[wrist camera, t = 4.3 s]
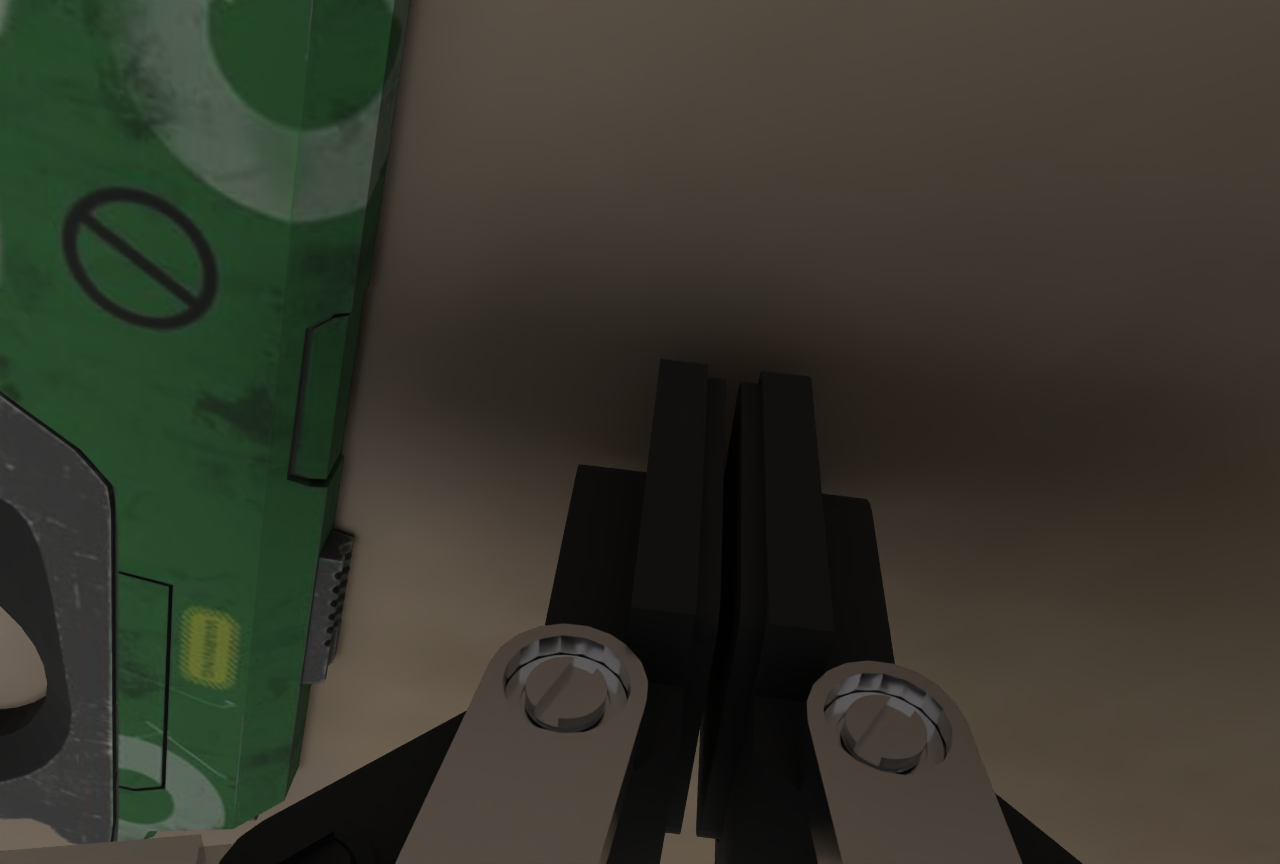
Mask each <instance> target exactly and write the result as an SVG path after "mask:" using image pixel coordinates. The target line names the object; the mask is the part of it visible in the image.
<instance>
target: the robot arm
mask: <svg viewBox="0 0 1280 864" xmlns="http://www.w3.org/2000/svg"><path fill="white" fill-rule="evenodd" d="M725 403H726V380H725V379H716V378H708V365H707V364H699V363H691V362H682V361H674V360H666V359H661V360H660V368H659V376H658V385H657V393H656V401H655V409H654V418H653V426H652V434H651V442H650V451H649V459H648V467H647V473H646V472H638V471H630V470H622V469H613V468H605V467H597V466H588V465H580V464H579V466H578V469H577V473H576V477H575V482H574V487H573V492H572V497H571V501H570V506H569V511H568V516H567V521H566V526H565V530H564V535H563V540H562V545H561V550H560V555H559V560H558V564H557V569H556V574H555V579H554V584H553V589H552V594H551V598H550V603H549V608H548V613H547V618H546V623H545V626H539V627H537V628H534V629H531V630H528V631H526V632H523V633H520V634H518V635H517V636H515V637H514V638H512V639H511V640H510V641H508V642H507V643H505V644H504V645H503V646H501V647H500V649H499V650H498V652H497V653H496V654H495V656H494V657H493V658H492V660H491V661H490V663H489V664H488V667H487V669H486V671H485V673H484V675H483V677H482V679H481V682H480V684H479V686H478V688H477V690H476V692H475V694H474V696H473V699H472V701H471V703H470V705H469V707H468V709H467V711H465V712H463V713H461V714H459V715H458V716H456V717H454V718H452V719H450V720H448V721H446V722H445V723H443V724H441V725H439V726H437V727H435V728H434V729H432V730H430V731H428V732H426V733H424V734H422V735H421V736H419V737H417V738H415V739H413V740H411V741H410V742H408V743H406V744H404V745H402V746H400V747H398V748H397V749H395V750H393V751H391V752H389V753H387V754H386V755H384V756H382V757H380V758H378V759H376V760H374V761H373V762H371V763H369V764H367V765H365V766H363V767H362V768H360V769H358V770H356V771H354V772H352V773H350V774H349V775H347V776H345V777H343V778H341V779H339V780H338V781H336V782H334V783H332V784H330V785H328V786H326V787H325V788H323V789H321V790H319V791H317V792H315V793H314V794H312V795H310V796H308V797H306V798H304V799H302V800H301V801H299V802H297V803H295V804H293V805H291V806H290V807H288V808H286V809H284V810H282V811H280V812H278V813H277V814H275V815H273V816H271V817H269V818H267V819H266V820H264V821H262V822H261V823H259V824H258V825H257V826H255V827H254V828H252V829H251V830H249V831H248V832H247V833H245V834H244V835H242V836H241V837H240V838H239V839H238V840H237V841H236V842H235V843H234V844H229V845H217V846H205V847H204V846H203V841H202V837H201V834H200V835H188V836H176V837H164V838H152V839H140V840H128V841H115V842H103V843H91V844H79V845H67V846H55V847H43V848H31V849H19V850H7V851H0V864H660V859H661V853H662V847H663V841H664V836H665V833H673V834H680V832H681V827H682V822H683V817H684V811H685V806H686V800H687V795H688V790H689V784H690V779H691V773H692V768H693V763H694V757H695V752H696V746H697V741H698V735H699V730H700V747H699V772H698V796H697V820H696V835H697V837H705V838H713V839H715V864H1082V863H1081V862H1080V861H1079V860H1077V859H1076V858H1075V857H1074V856H1072V855H1071V854H1070V853H1069V852H1067V851H1066V850H1065V849H1064V848H1063V847H1061V846H1060V845H1059V844H1058V843H1056V842H1055V841H1054V840H1053V839H1051V838H1050V837H1049V836H1048V835H1046V834H1045V833H1044V832H1043V831H1041V830H1040V829H1039V828H1038V827H1036V826H1035V825H1034V824H1033V823H1032V822H1030V821H1029V820H1028V819H1027V818H1025V817H1024V816H1023V815H1022V814H1020V813H1019V812H1018V811H1017V810H1015V809H1014V808H1013V807H1012V806H1010V805H1009V804H1008V803H1007V802H1006V801H1004V800H1003V799H1002V798H1001V797H999V796H998V795H997V794H996V793H994V790H993V788H992V785H991V782H990V780H989V777H988V775H987V772H986V770H985V767H984V765H983V762H982V760H981V757H980V754H979V752H978V749H977V747H976V744H975V742H974V739H973V737H972V734H971V732H970V729H969V726H968V724H967V722H966V720H965V718H964V716H963V715H962V713H961V711H960V710H959V708H958V706H957V704H956V703H955V702H954V701H953V700H952V699H951V698H950V697H949V696H948V695H947V694H946V693H945V692H944V691H943V690H942V689H941V688H940V687H939V686H938V685H937V684H935V683H933V682H932V681H930V680H928V679H927V678H925V677H924V676H922V675H920V674H919V673H917V672H915V671H912V670H909V669H906V668H903V667H901V666H898V665H895V663H894V656H893V649H892V643H891V636H890V629H889V623H888V616H887V609H886V603H885V596H884V589H883V583H882V576H881V569H880V563H879V556H878V549H877V543H876V536H875V529H874V523H873V516H872V510H871V506H870V503H869V501H868V500H867V499H862V498H853V497H845V496H837V495H829V494H822V492H821V481H820V470H819V460H818V449H817V438H816V427H815V417H814V406H813V395H812V384H811V378H810V377H807V376H799V375H791V374H782V373H774V372H766V371H761V373H760V376H759V379H758V383H750V382H741V383H740V386H739V391H738V396H737V402H736V408H735V414H734V420H733V425H732V431H731V437H730V443H729V449H728V455H727V461H726V466H725V472H724V443H725Z"/></svg>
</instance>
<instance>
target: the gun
mask: <svg viewBox="0 0 1280 864" xmlns="http://www.w3.org/2000/svg"><path fill="white" fill-rule="evenodd" d="M409 6H410V0H0V606H1V607H2V608H3V609H4V610H5V611H6V612H7V613H8V614H9V615H10V616H11V617H12V618H13V619H14V620H15V621H16V622H17V623H18V624H19V625H20V626H21V627H22V629H23V630H24V632H25V633H26V634H27V636H28V637H29V638H30V640H31V641H32V643H33V644H34V645H35V647H36V649H37V651H38V654H39V656H40V658H41V660H42V662H43V664H44V668H45V673H46V679H47V692H46V696H45V697H43V698H41V699H40V700H38V701H36V702H35V703H31V704H28V705H25V706H21V707H18V708H11V709H2V710H0V820H7V819H32V820H34V821H37V822H40V823H43V824H45V825H48V826H50V827H51V828H52V829H53V831H54V832H55V833H56V834H58V835H59V836H60V837H62V838H63V839H64V840H66V841H67V842H68V843H72V844H76V845H79V844H91V843H103V842H115V841H128V840H140V839H148V838H150V837H153V836H154V835H155V834H156V832H157V831H177V830H213V829H234V828H236V827H237V826H239V825H241V824H243V823H245V822H246V821H248V820H257V818H258V815H259V814H261V813H263V812H264V811H266V810H268V809H270V808H272V807H273V806H275V805H277V804H279V803H281V802H282V801H284V800H285V798H286V795H287V793H288V791H289V788H290V786H291V783H292V781H293V778H294V776H295V774H296V771H297V769H298V766H299V760H300V753H301V746H302V739H303V733H304V726H305V719H306V712H307V705H308V698H309V691H310V685H311V684H314V683H324V681H325V679H326V675H327V669H328V665H330V664H331V663H333V660H334V658H335V652H336V646H337V640H338V633H339V627H340V621H339V619H340V617H341V615H342V608H341V606H342V604H343V602H344V595H343V593H344V591H345V589H346V584H347V583H346V582H345V581H344V580H346V578H347V576H348V571H349V569H348V568H347V566H348V565H349V563H350V559H351V555H350V554H349V552H350V551H351V549H352V546H353V540H354V537H351V536H349V535H346V534H343V533H340V532H337V531H334V530H333V527H334V520H335V513H336V506H337V500H338V493H339V486H340V479H341V472H342V465H343V458H344V456H342V455H340V452H341V449H342V442H343V435H344V428H345V421H346V414H347V408H348V401H349V394H350V387H351V380H352V373H353V366H354V359H355V352H356V345H357V338H358V331H359V324H360V317H361V310H362V303H363V296H364V292H365V290H366V289H367V287H368V286H369V280H370V273H371V266H372V260H373V253H374V246H375V239H376V232H377V225H378V219H379V212H380V205H381V198H382V191H383V184H384V177H385V171H386V164H387V157H388V150H389V143H390V136H391V129H392V123H393V116H394V109H395V102H396V95H397V88H398V81H399V75H400V68H401V61H402V54H403V47H404V40H405V33H406V27H407V20H408V13H409Z"/></svg>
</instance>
